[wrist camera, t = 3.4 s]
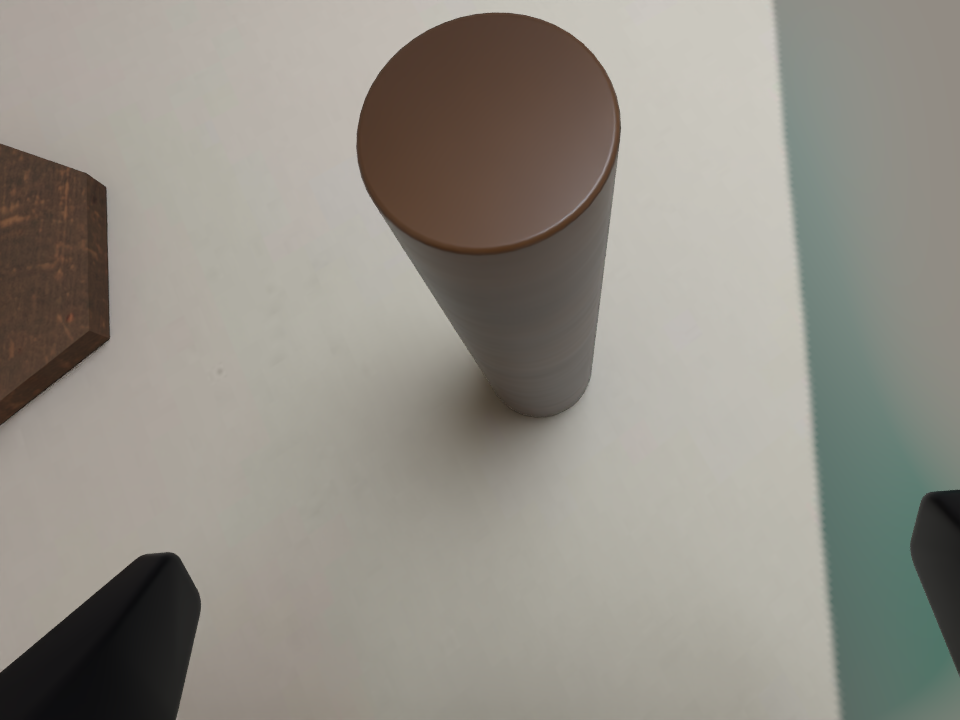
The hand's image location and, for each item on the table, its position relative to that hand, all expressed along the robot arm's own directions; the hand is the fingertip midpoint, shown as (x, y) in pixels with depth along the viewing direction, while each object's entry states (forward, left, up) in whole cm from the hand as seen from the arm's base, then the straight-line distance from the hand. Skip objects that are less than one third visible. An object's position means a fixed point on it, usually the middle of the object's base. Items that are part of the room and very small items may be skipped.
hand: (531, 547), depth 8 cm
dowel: (+4, -3, -11) cm, 12 cm away
